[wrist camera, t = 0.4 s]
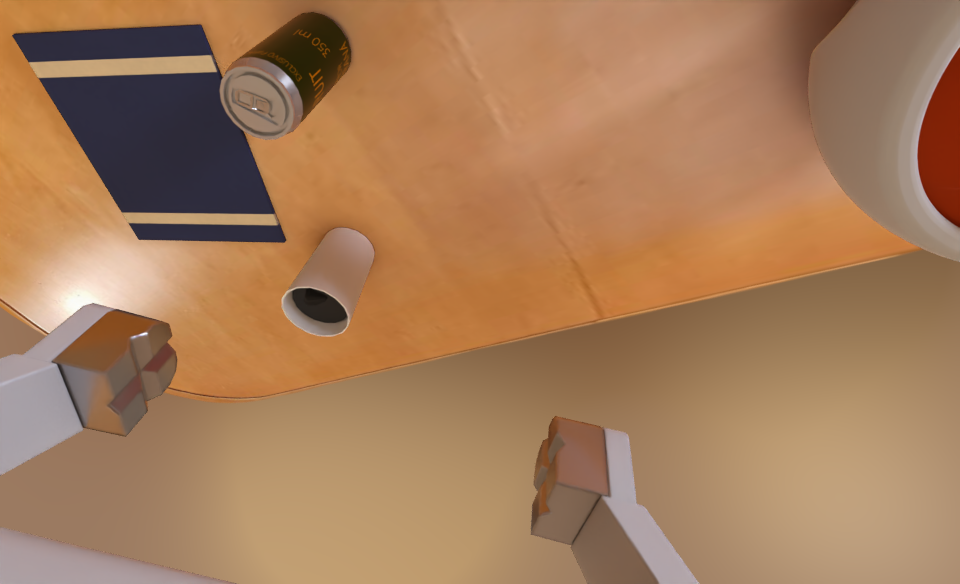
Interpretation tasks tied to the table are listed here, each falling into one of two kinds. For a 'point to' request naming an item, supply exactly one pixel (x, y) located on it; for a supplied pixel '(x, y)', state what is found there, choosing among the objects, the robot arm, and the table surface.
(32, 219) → the table surface
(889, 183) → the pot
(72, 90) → the cloth
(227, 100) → the green drink can
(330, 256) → the white coffee cup
